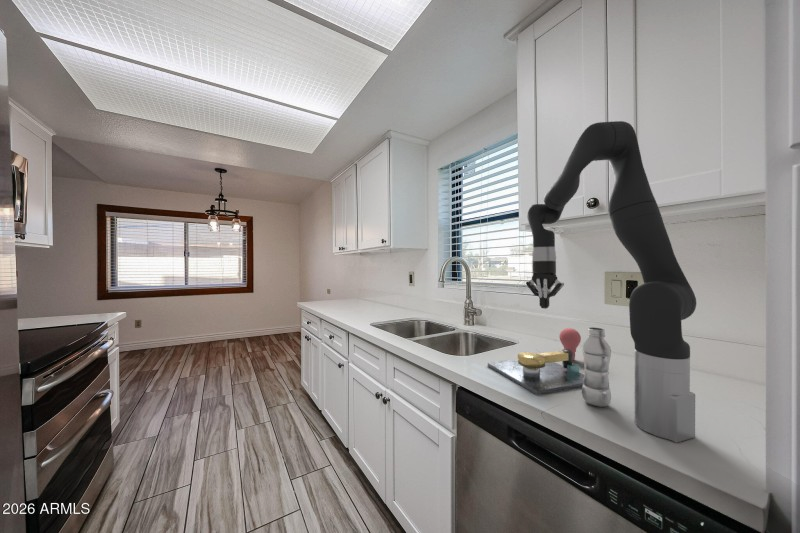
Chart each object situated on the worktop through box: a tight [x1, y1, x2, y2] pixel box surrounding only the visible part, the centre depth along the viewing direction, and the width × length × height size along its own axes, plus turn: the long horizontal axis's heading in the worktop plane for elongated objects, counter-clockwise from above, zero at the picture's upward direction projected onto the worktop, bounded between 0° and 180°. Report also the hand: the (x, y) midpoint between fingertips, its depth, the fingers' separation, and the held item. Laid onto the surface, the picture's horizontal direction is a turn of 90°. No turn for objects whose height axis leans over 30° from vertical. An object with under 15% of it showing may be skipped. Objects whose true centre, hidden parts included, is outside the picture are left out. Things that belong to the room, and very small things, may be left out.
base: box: [487, 358, 584, 396], centre depth 97 cm, size 24×23×5 cm
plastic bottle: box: [581, 326, 612, 408], centre depth 76 cm, size 6×7×20 cm
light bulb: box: [559, 327, 582, 360], centre depth 111 cm, size 7×7×12 cm
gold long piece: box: [517, 348, 574, 368], centre depth 94 cm, size 20×8×6 cm, turn 106°
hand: (544, 308), depth 103 cm, fingers closed
